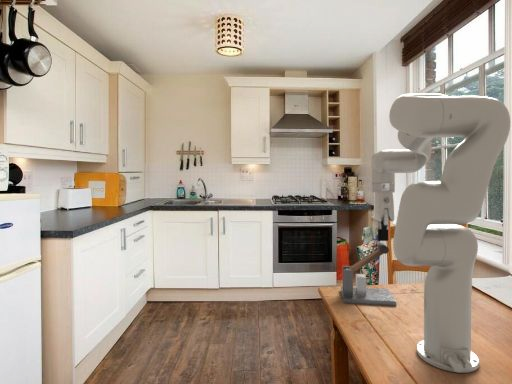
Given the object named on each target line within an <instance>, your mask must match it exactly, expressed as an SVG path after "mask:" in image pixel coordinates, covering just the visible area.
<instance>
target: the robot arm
mask: <svg viewBox="0 0 512 384" xmlns="http://www.w3.org/2000/svg"><path fill="white" fill-rule="evenodd" d="M388 115H389V118H388V119H389V122H390V125H391V126H392V127H393V128H394V129H396V130H397V131H398V132H397V140H398V141H399V144H400V145H401V146H402V147H404V148H405V149H384V150H380V151H377V152H375V153H373V154H372V155H371V193H374V201H373V202H374V203H373V204H374V207H373V208H374V209H373V210H374V211H373V212H374V213H373V214H374V219H376V220H377V240H378V241H379V242H388V241H389V222H394V221H395V204H394V203H395V202H394V194H393V193H395V192H396V189H395V188H396V183H395V182H396V180H395V178H396V174H410V173H411V174H413V173H416V172H418V171H420V170H421V169H423V167H425V166H426V165H427V164H428V162H429V161H430V158H431V155H432V149H433V148H432V143H431V141H433V139H435V138H463V141H461V142H460V143H458V145H457V146H456V147H454V148H453V150H452V151H451V152H450V153H449V154H448V156H447V158H445V159H446V160H445V162H444V166H443V171H442V175H441V177H440V178H439V179H438V180H430V181H429V180H426V181H425V180H424V181H416V182H413V183H411V184H409V185H407V187H406V188H405V189H404V191H403V192H402V194H401V197H400V201H399V206H398V210H397V217H396V222H395V226H394V227H395V228H394V234H393V240H392V245H393V246H392V247H393V254H394V257H395V258H396V260H397V261H398V262H399V263H401V264H402V265H405V266H408V267H429V268H428V269H429V270H427V273H426V275H425V279H424V282H423V340H420V341H419V342H418V343H417V344H416V353H417V355H418V356H419V357H420V358H421V359H422V361H424V362H426V363H428V364H429V365H430V366H432V367H436V368H438V369H440V370H444V371H448V372H452V373H458V374H459V373H462V374H463V373H467V374H468V373H471V372H474V371H476V370H478V369H479V367H480V358H479V357H478V356H477V354H475V353H474V351H472V295H473V293H472V292H473V291H472V290H473V289H472V288H473V275H474V268H475V267H474V266H475V263H476V259H477V256H478V251H479V250H478V248H479V245H478V243H479V242H478V239H477V237H476V235H475V233H474V232H473V231H472V230H471V229H469V228H468V227H466V226H463V224H468V223H469V224H470V223H472V222H474V221H475V220H476V219H477V218H478V217H479V215H480V212H481V210H482V207H483V205H484V201H485V198H486V194H487V192H488V188H489V185H490V180H491V178H492V174H493V171H494V167H495V164H496V162H497V160H498V159H499V157H500V154H501V153H502V152H503V148H504V147H505V145H506V143H507V140H508V138H509V135H510V130H511V115H510V111H509V109H508V108H507V106H506V105H505V104H504V103H503V102H502V101H501V100H499V99H497V98H494V97H490V96H489V97H488V96H480V95H460V96H459V95H455V96H448V95H446V94H442V93H432V92H431V93H405V94H401V95H400V96H398V97H397V98H396V99H395V100H394V101H393V103H392V104H391V106H390V110H389V114H388ZM461 224H462V225H461Z"/></svg>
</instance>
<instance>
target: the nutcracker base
mask: <svg viewBox="0 0 512 384" xmlns="http://www.w3.org/2000/svg"><path fill="white" fill-rule="evenodd" d="M351 266H352V265H342V286H340V294H341V297H342V302H343V304H354V305H357V304H358V305H370V306H371V305H374V306H392V307H396V306H397V300H396V298H395V297H394V296H393V294H392V293H391V291H390V290H389V288H374V287H373V288H372V287H370V288H369V287H367V277H366V274H364V273H355V287H354V273H353V270H351V269H347V268H349V267H351Z"/></svg>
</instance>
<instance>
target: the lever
mask: <svg viewBox="0 0 512 384" xmlns="http://www.w3.org/2000/svg"><path fill="white" fill-rule="evenodd" d="M389 251H390V249H389V247H388V246H387V245H386V244H385V243H384V242H379V243H378V244H377V249H376V250H373V251H372V252H371V253H370V254H368V255H366V256H365V257H363V258H362V259H360V260H359V261H357V262H355V263H354V264H352V265H350V266H351V267H349V268H347V269H351V270H353V274H354V273H355V272H357V271H358V270H360V269H361V268H363V267H364V266H366V265H368V264H369V263H371V262H373V261H374V260H376V259H377V258H379V257H381V256H382V255H384V254H385V255H386V254H388V253H389Z"/></svg>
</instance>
